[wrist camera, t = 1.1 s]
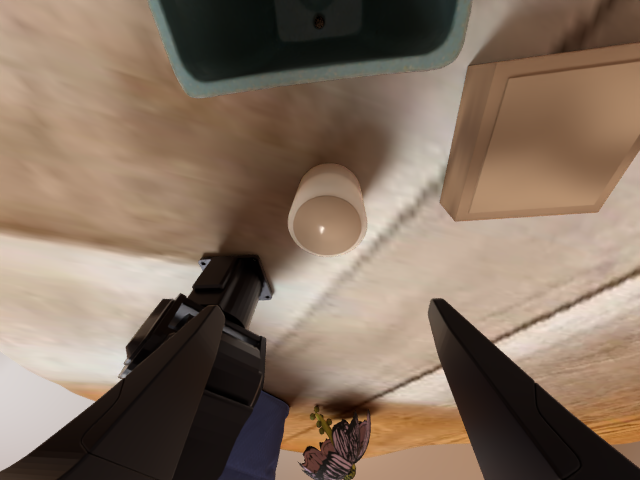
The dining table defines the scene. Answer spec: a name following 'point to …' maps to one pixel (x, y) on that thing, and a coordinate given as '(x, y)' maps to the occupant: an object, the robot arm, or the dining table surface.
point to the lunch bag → (258, 442)
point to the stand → (544, 134)
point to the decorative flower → (337, 448)
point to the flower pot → (304, 40)
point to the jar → (328, 211)
